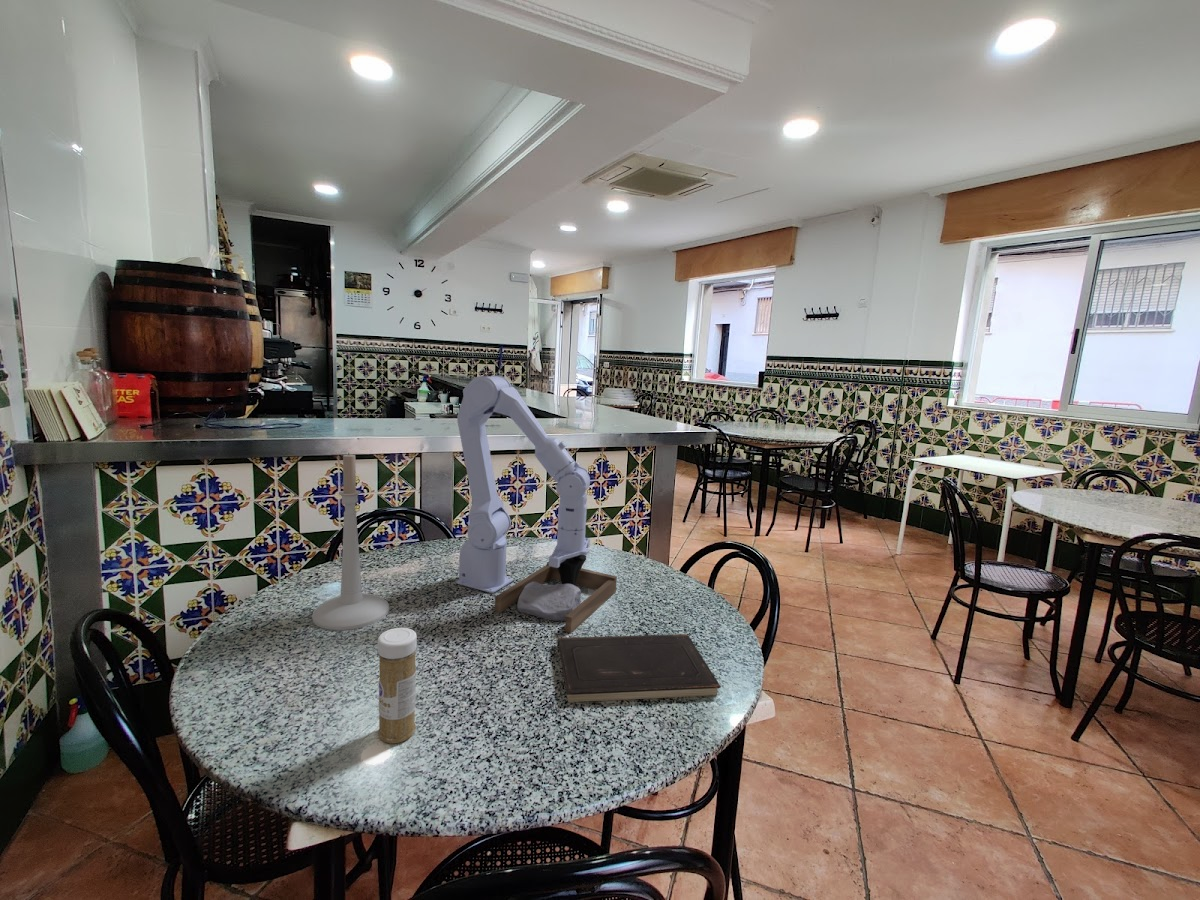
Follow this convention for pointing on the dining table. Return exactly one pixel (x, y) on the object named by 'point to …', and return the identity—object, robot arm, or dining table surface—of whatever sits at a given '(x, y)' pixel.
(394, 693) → the sprinkles bottle
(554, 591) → the stone block
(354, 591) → the candlestick
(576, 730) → the dining table surface
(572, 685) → the hardcover book
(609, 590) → the shelf lane
